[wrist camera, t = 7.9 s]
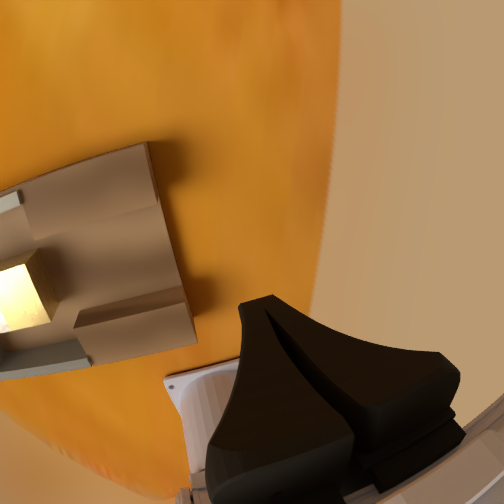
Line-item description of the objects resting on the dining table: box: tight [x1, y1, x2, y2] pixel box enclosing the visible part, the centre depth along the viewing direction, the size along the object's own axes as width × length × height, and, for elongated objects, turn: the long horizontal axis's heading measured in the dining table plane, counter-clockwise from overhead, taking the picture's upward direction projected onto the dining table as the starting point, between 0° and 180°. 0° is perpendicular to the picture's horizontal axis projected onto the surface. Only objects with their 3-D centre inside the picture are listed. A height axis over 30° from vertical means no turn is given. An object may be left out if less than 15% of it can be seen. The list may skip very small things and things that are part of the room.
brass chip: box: [0, 248, 61, 331], centre depth 16 cm, size 4×4×2 cm
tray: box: [0, 189, 92, 381], centre depth 16 cm, size 12×10×2 cm
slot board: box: [0, 142, 198, 366], centre depth 17 cm, size 12×17×3 cm
